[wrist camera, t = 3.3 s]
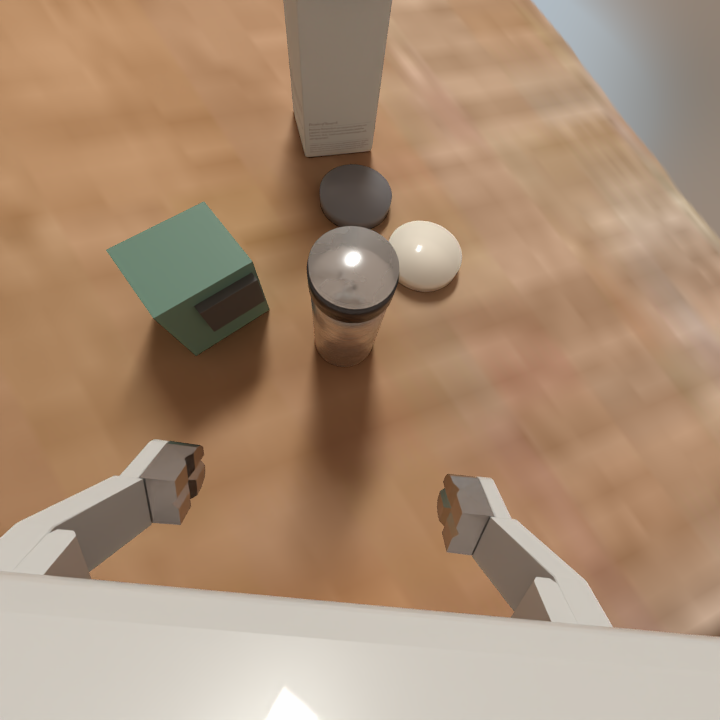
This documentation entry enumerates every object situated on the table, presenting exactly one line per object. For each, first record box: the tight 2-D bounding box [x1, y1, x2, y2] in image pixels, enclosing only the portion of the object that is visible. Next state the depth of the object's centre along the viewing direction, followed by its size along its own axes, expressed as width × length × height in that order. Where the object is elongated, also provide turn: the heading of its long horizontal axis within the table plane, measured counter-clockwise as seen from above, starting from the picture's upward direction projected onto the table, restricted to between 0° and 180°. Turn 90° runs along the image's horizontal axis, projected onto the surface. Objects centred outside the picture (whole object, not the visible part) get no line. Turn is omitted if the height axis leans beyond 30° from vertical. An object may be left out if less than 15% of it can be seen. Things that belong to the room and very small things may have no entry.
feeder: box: [106, 202, 269, 356], centre depth 25 cm, size 7×7×7 cm
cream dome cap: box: [389, 221, 462, 292], centre depth 31 cm, size 7×7×1 cm
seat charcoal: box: [320, 164, 392, 229], centre depth 33 cm, size 7×7×1 cm
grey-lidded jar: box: [307, 226, 399, 367], centre depth 23 cm, size 5×5×11 cm
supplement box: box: [283, 0, 392, 157], centre depth 30 cm, size 7×7×13 cm
